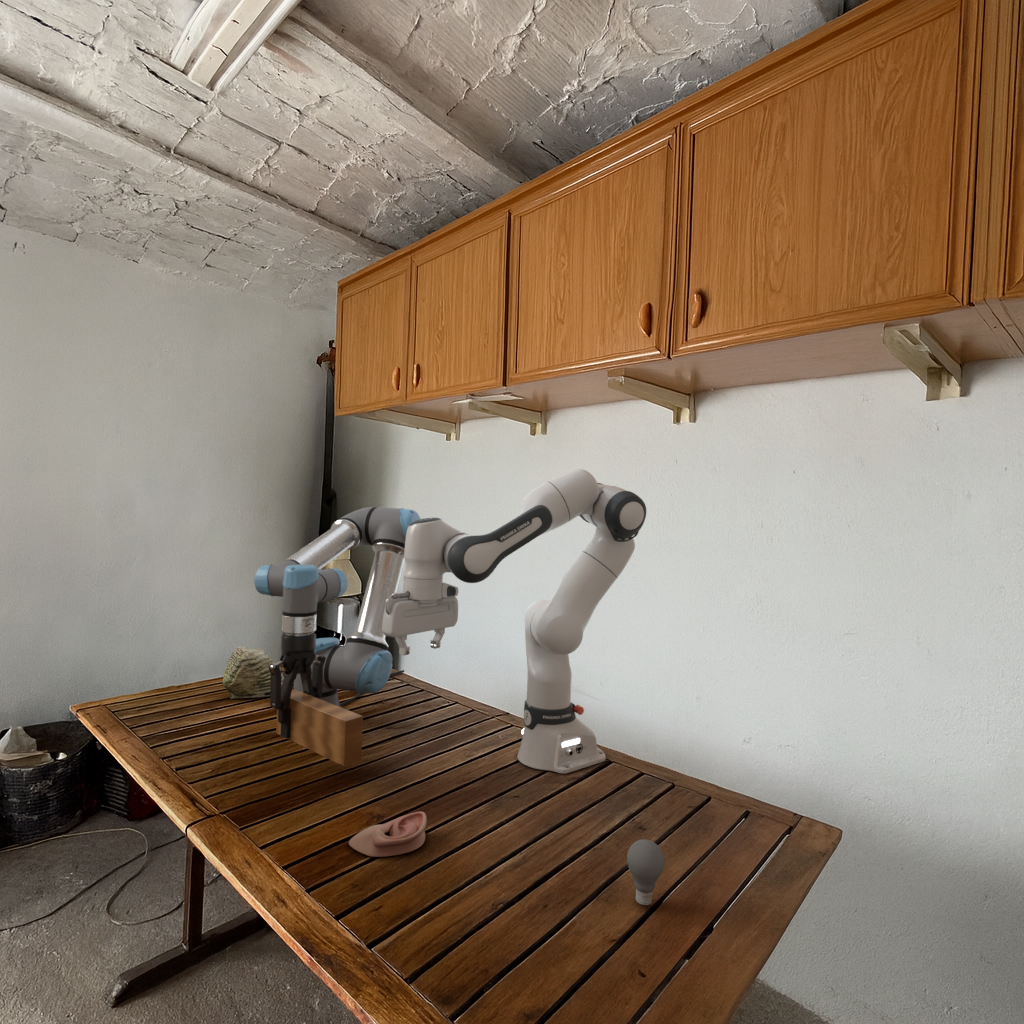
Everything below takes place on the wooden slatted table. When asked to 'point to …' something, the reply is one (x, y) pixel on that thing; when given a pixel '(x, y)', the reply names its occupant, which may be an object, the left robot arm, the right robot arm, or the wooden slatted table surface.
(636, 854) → the light bulb
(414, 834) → the anatomical model
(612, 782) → the wooden slatted table surface
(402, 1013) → the wooden slatted table surface
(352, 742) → the bar
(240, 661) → the fossil
